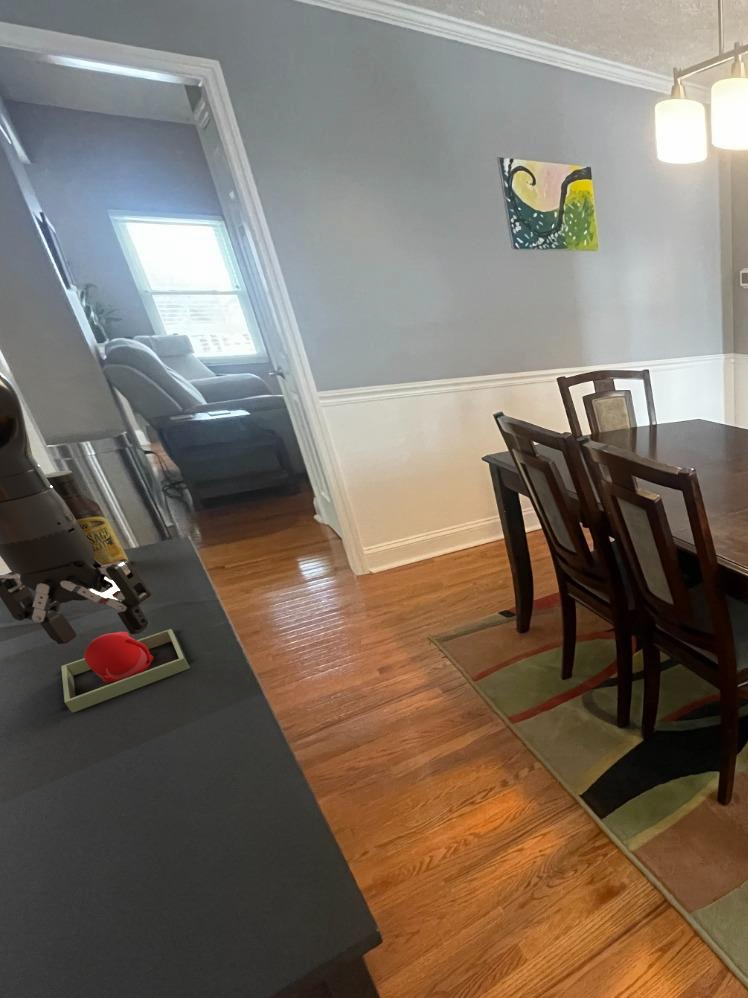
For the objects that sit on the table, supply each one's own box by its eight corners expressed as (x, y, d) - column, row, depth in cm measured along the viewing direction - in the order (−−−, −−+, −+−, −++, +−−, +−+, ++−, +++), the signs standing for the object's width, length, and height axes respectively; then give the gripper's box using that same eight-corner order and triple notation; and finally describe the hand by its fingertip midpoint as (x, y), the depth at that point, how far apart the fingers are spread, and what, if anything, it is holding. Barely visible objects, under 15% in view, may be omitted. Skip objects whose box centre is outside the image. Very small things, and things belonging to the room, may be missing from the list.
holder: (72, 713, 77) (64, 702, 76) (68, 676, 85) (60, 666, 84) (190, 668, 85) (183, 658, 84) (177, 638, 92) (171, 628, 91)
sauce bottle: (89, 585, 110) (24, 483, 100) (87, 575, 113) (24, 476, 104) (137, 571, 114) (78, 472, 104) (133, 562, 118) (76, 466, 108)
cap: (164, 670, 85) (142, 636, 82) (107, 694, 80) (82, 658, 78) (149, 652, 89) (127, 618, 86) (94, 673, 85) (70, 639, 82)
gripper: (-65, 548, 70) (20, 660, 77) (75, 533, 72) (145, 643, 80) (-7, 524, 76) (66, 629, 84) (120, 510, 79) (180, 613, 86)
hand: (104, 635), depth 82 cm, fingers open, 8 cm apart
